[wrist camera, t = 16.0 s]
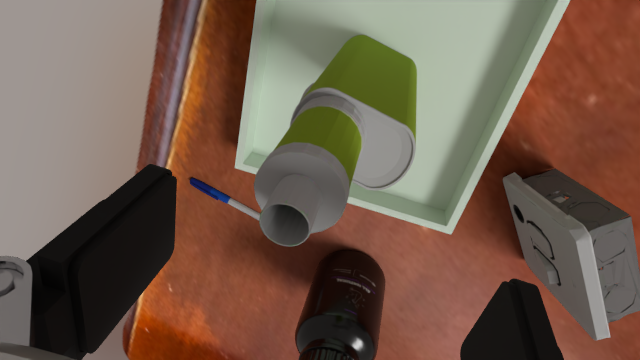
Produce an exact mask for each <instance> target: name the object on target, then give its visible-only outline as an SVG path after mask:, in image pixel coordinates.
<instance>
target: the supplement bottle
mask: <svg viewBox="0 0 640 360" xmlns="http://www.w3.org/2000/svg"><path fill="white" fill-rule="evenodd" d="M384 293H385V277H384V274H383V271H382V269H381V268H380V266H379V265H378V264H377V263H376V262H375V261H374V260H373V259H371V258H370V257H368V256H367V255H365V254H362V253H360V252H356V251H350V250H343V251H337V252H334V253H331V254H329V255H327V256H326V257H325V258H324V259H323V260H322V261H321V262H320V263H319V265H318V267H317V270H316V273H315V275H314V278H313V281H312V284H311V287H310V290H309V293H308V296H307V298H306V301H305V304H304V307H303V310H302V313H301V316H300V319H299V322H298V325H297V328H296V332H295V342H296V346H297V349H298V351H299V353H300V356H299V360H374V359H375V357H376V353H377V348H378V340H379V333H380V325H381V317H382V309H383V301H384Z"/></svg>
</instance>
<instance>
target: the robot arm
mask: <svg viewBox="0 0 640 360" xmlns="http://www.w3.org/2000/svg"><path fill="white" fill-rule="evenodd" d="M176 188H177V179H176V177H174V176H172V172H171V170H169V169H166V168H163V167H160V166H156V165H153V164H149V165H147V166H146V167H145V168H143V169H142V170H141V171H140V172H139V173H137V174H136V175H135V176H134V177H132V178H131V179H130V180H129V181H127V182H126V183H125V184H124V185H123V186H121V187H120V188H119V189H118V190H116V191H115V192H114V193H113V194H111V195H110V196H109V197H108V198H106V199H105V200H102V201H101V202H99V203H98V204H97V205H95V206H94V207H93V208H92V209H90V210H89V211H88V212H86V213H85V214H84V215H83V216H81V217H80V218H79V219H78V220H77V221H76V222H74V223H73V224H72V225H70V226H69V227H68V228H67V229H66V230H64V231H63V232H62V233H60V234H59V235H58V236H57V237H55V238H54V239H53V240H52V241H50V242H49V243H48V244H47V245H45V246H44V247H43V248H42V249H40V250H39V251H38V252H37V253H35V254H34V255H33V256H32V257H31V258H29V259H28V260H27V261H24V260H22V259H20V258H18V257H11V256H0V360H82V358H83V357H84V356H85V355H86V354H87V353H90V354H91V353H93V352H95V351H96V350H97V349H98V348H99V346H100V345H101V344H102V343H103V341H104V340H105V339H106V338H107V336H108V335H109V334H110V333H111V331H112V330H113V329H114V328H115V326H116V325H117V324H118V323H119V321H120V320H121V319H122V318H123V316H124V315H125V314H126V312H127V311H128V310H129V309H130V308H131V306H132V305H133V304H134V303H135V301H136V300H137V299H138V298H139V296H140V295H141V294H142V293H143V291H144V290H145V289H146V288H147V286H148V285H149V284H150V283H151V281H152V280H153V279H154V278H155V276H156V275H157V274H158V273H159V271H160V270H161V269H162V268H163V266H164V265H165V264H166V263H167V261H168V260H169V259H170V257H171V255H172V253H173V250H174V241H175V215H176ZM460 357H461V360H564V358H563V355H562V353H561V351H560V349H559V347H558V346H557V343H556V340H555V337H554V334H553V331H552V328H551V325H550V322H549V319H548V316H547V313H546V310H545V307H544V304H543V301H542V298H541V295H540V292H539V289H538V287H537V286H536V285H534V284H531V283H527V282H524V281H521V280H518V279H511V280H510V281H509V282H506V281H504V282H502V284H501V285H500V286H499V288H498V290H497V291H496V293H495V294H494V296H493V297H492V299H491V300H490V302H489V303H488V305H487V306H486V308H485V309H484V311H483V312H482V314H481V316H480V317H479V319H478V320H477V322H476V323H475V325H474V326H473V328H472V329H471V331H470V332H469V334H468V335H467V337H466V338H465V340H464V342H463V344H462V347H461V352H460Z"/></svg>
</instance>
